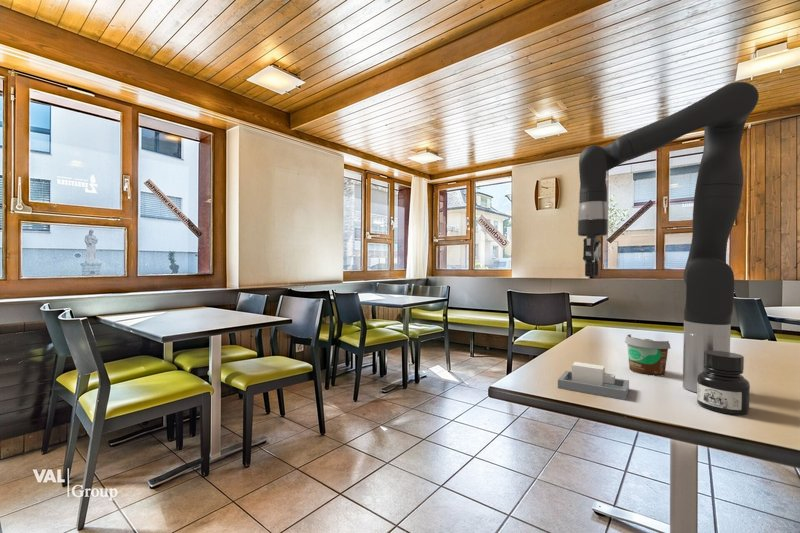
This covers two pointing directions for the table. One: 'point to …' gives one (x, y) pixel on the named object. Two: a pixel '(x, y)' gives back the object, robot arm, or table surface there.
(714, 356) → the ink bottle
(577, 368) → the plug
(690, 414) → the table surface
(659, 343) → the food container
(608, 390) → the tray
